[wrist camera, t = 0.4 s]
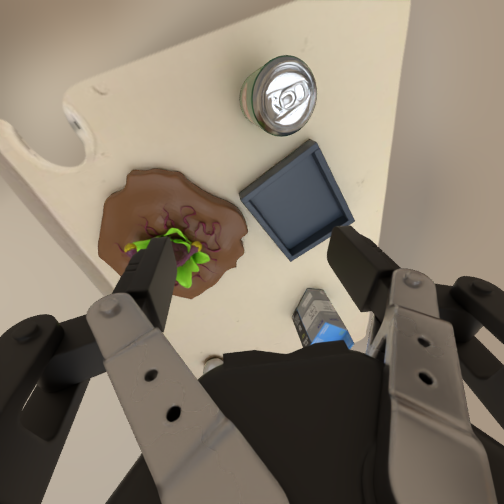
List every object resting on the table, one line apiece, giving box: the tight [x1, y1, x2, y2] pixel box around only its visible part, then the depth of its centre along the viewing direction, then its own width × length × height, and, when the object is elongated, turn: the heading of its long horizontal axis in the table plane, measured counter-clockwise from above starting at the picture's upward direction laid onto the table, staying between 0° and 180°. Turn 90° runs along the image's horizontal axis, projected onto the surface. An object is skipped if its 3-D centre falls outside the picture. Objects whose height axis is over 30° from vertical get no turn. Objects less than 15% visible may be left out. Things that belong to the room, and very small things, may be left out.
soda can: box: [240, 55, 317, 136], centre depth 21 cm, size 5×5×12 cm
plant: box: [98, 169, 248, 299], centre depth 30 cm, size 20×20×11 cm
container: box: [239, 139, 355, 262], centre depth 33 cm, size 14×12×3 cm
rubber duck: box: [203, 358, 223, 375], centre depth 51 cm, size 5×7×8 cm
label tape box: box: [292, 289, 354, 349], centre depth 42 cm, size 9×4×12 cm, turn 163°
